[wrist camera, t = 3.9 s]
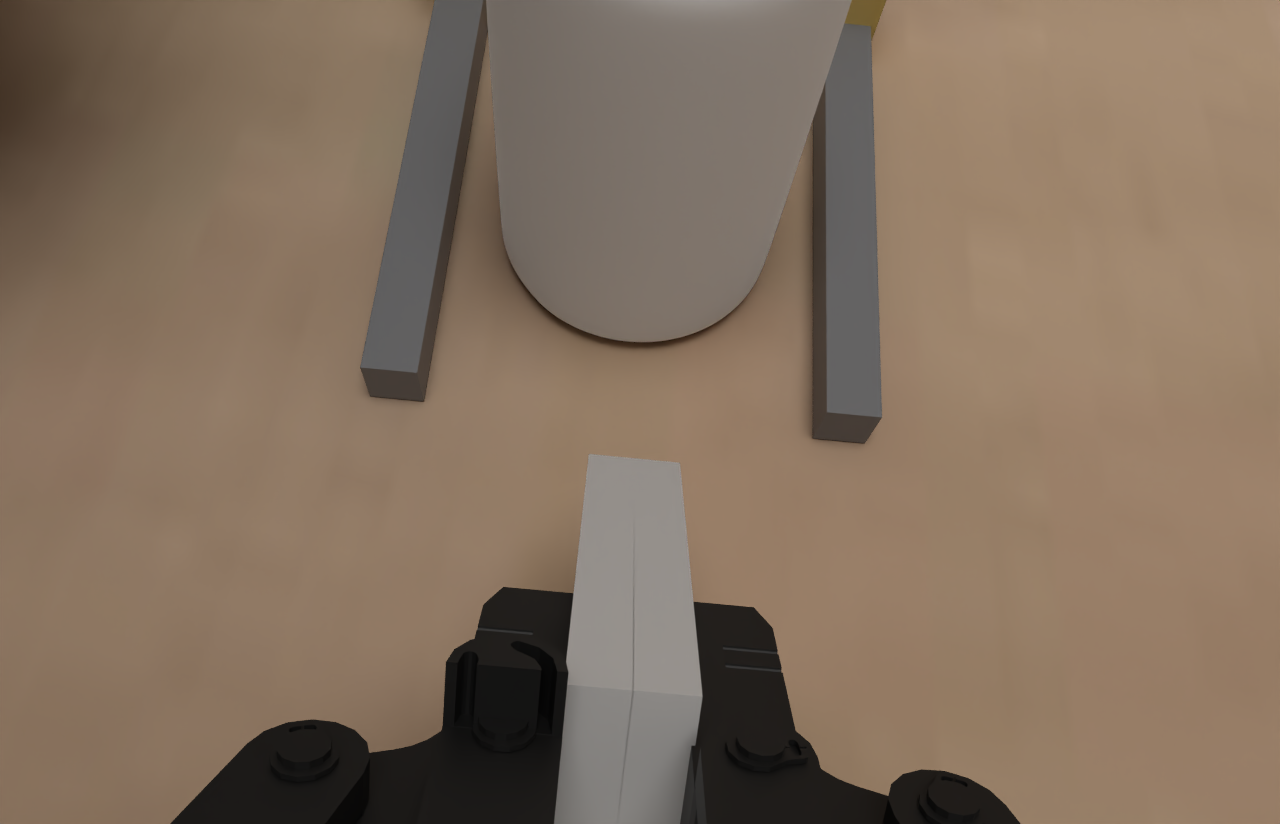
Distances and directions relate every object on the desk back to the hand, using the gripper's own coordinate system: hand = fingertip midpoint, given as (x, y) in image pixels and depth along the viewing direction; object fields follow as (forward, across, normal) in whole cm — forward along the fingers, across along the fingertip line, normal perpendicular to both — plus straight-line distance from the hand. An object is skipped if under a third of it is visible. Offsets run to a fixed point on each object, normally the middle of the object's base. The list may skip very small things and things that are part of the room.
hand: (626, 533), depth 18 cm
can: (+10, 0, +3) cm, 11 cm away
